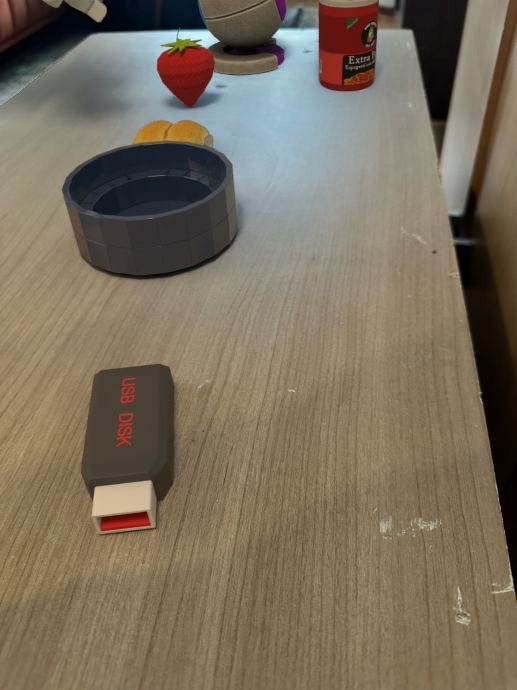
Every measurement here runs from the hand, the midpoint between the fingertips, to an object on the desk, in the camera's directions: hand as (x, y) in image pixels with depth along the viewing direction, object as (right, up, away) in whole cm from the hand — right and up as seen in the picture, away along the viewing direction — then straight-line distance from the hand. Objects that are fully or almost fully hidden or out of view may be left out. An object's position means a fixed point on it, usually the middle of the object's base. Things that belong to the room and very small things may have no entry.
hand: (104, 6), depth 77 cm
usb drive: (+11, -48, -36) cm, 61 cm away
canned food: (+31, -4, +12) cm, 34 cm away
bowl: (+9, -30, -16) cm, 35 cm away
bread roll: (+9, -19, -3) cm, 21 cm away
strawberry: (+10, -9, +9) cm, 16 cm away
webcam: (+17, +3, +22) cm, 28 cm away
